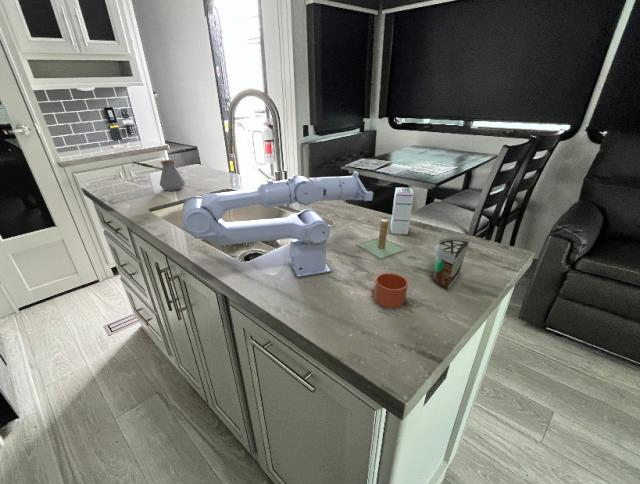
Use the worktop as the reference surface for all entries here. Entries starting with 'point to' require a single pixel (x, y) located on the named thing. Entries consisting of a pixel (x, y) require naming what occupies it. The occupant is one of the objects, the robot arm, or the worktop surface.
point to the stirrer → (383, 233)
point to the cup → (390, 290)
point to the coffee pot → (168, 175)
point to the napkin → (381, 253)
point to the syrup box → (402, 210)
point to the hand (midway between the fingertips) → (384, 186)
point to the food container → (449, 260)
